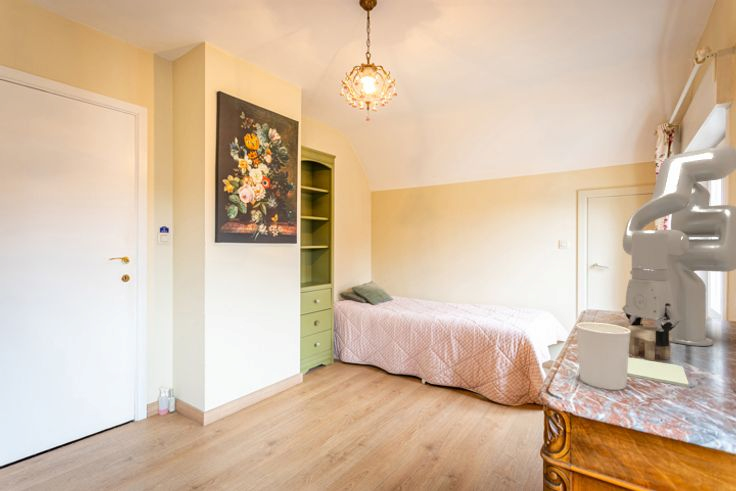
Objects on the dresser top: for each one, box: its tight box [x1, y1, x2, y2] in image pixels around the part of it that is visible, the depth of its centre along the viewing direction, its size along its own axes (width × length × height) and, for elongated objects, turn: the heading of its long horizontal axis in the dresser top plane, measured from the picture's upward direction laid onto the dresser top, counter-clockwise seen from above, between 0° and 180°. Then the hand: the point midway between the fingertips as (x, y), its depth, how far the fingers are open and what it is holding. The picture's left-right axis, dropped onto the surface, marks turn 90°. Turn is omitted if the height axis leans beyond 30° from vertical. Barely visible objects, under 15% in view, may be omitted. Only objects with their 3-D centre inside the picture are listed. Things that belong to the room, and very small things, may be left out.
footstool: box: [627, 324, 672, 361], centre depth 92 cm, size 6×6×8 cm
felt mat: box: [627, 357, 690, 388], centre depth 81 cm, size 14×12×1 cm
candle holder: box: [575, 321, 631, 391], centre depth 74 cm, size 10×10×12 cm
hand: (649, 341), depth 92 cm, fingers closed on footstool, 6 cm apart
